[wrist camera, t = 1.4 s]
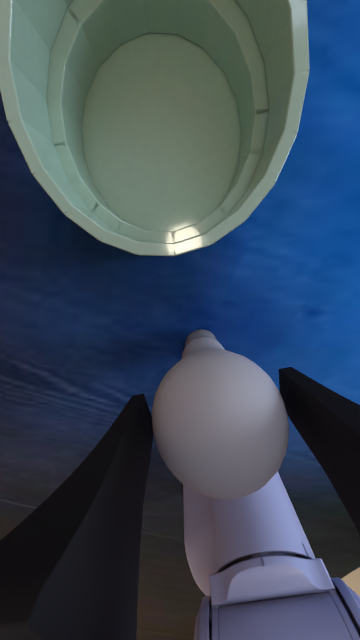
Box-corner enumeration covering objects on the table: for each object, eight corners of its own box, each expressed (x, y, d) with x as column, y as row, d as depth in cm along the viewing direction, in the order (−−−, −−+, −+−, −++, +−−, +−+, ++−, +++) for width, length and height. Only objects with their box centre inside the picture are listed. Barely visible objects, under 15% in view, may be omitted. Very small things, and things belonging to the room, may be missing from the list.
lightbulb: (151, 352, 17) (113, 510, 7) (185, 291, 15) (198, 388, 5) (211, 378, 18) (253, 549, 8) (250, 324, 16) (367, 460, 6)
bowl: (180, 283, 15) (180, 301, 11) (34, 172, 13) (-50, 130, 8) (298, 130, 12) (375, 59, 7) (135, -64, 9) (92, -375, 5)
